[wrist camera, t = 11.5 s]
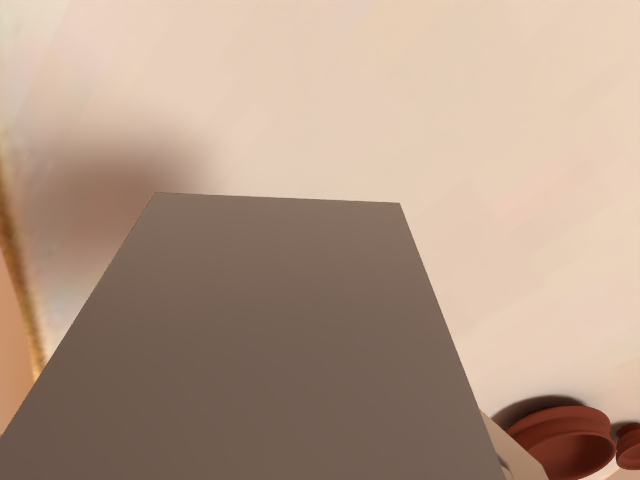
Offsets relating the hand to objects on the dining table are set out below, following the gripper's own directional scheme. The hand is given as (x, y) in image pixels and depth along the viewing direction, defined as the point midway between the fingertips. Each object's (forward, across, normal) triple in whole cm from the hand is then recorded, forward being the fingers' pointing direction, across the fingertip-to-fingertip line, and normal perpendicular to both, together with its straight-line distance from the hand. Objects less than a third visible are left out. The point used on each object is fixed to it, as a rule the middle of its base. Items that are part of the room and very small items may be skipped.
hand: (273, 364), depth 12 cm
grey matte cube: (+3, 0, 0) cm, 3 cm away
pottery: (+18, -33, +31) cm, 49 cm away
